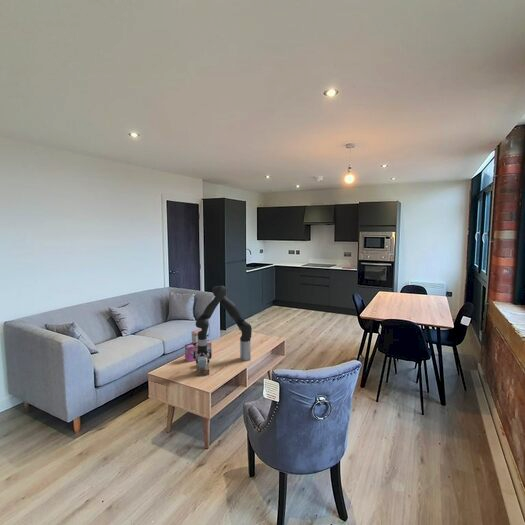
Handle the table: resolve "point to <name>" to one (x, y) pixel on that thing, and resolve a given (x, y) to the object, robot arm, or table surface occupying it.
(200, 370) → the walnut block
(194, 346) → the gum box
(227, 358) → the table surface
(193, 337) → the cracker box
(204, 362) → the blue block
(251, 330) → the robot arm
